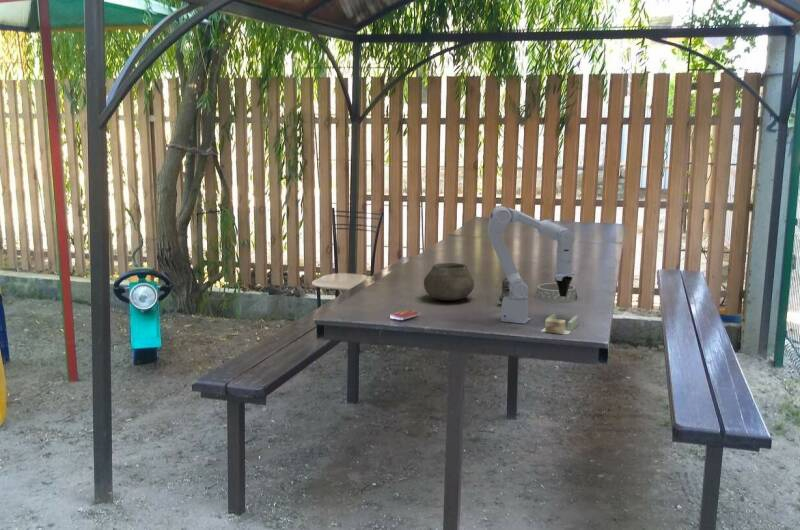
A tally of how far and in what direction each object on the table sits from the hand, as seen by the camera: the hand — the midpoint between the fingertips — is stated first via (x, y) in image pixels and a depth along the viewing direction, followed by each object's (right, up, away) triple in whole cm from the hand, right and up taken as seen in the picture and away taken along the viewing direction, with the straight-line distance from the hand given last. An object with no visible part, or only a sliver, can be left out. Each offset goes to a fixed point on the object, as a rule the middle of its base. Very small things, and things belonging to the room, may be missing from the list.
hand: (563, 296), depth 292 cm
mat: (-5, -12, -14) cm, 19 cm away
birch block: (-6, -12, -14) cm, 20 cm away
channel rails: (-2, -11, -6) cm, 12 cm away
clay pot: (-41, -3, +37) cm, 55 cm away
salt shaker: (-18, -5, +26) cm, 32 cm away
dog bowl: (+5, -3, +40) cm, 40 cm away
